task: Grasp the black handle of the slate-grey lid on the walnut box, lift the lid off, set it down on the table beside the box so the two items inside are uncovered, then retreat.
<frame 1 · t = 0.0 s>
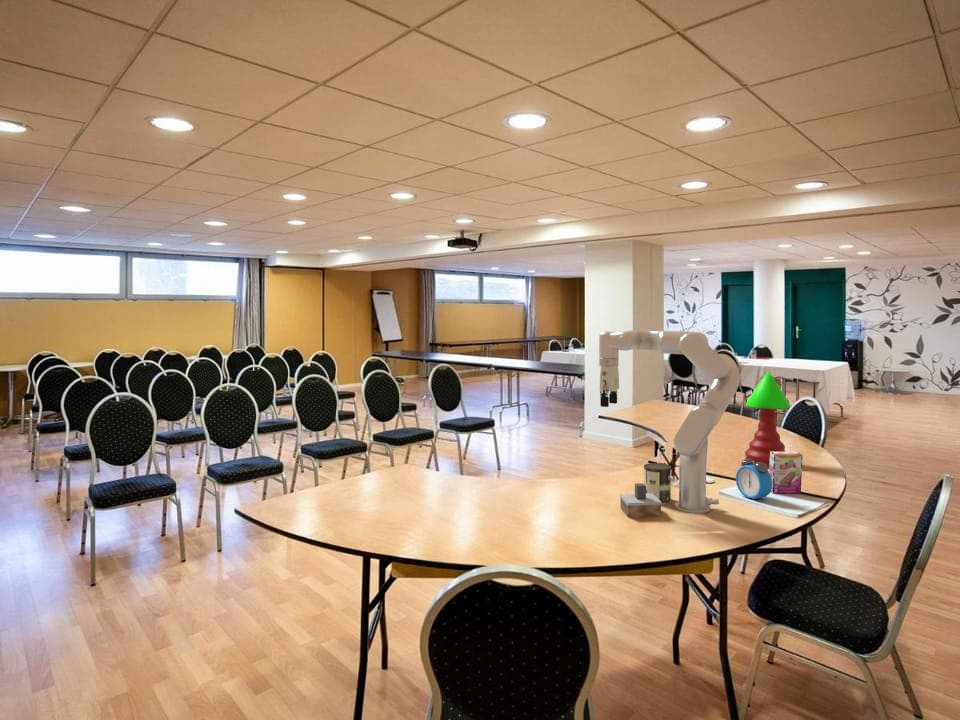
hand: (608, 404, 236), 37 cm above the table, tool pointing down, fingers open, 9 cm apart
lid: (640, 500, 217), point 5 cm above the table, touching box
box: (640, 513, 217), on the table
coffee can: (657, 501, 231), on the table
mustard ball: (633, 512, 217), point 1 cm above the table, touching box
alarm clock: (753, 498, 233), on the table
table lamp: (766, 463, 285), on the table
candy bar box: (784, 492, 240), on the table
white capsule: (646, 512, 217), point 1 cm above the table, touching box
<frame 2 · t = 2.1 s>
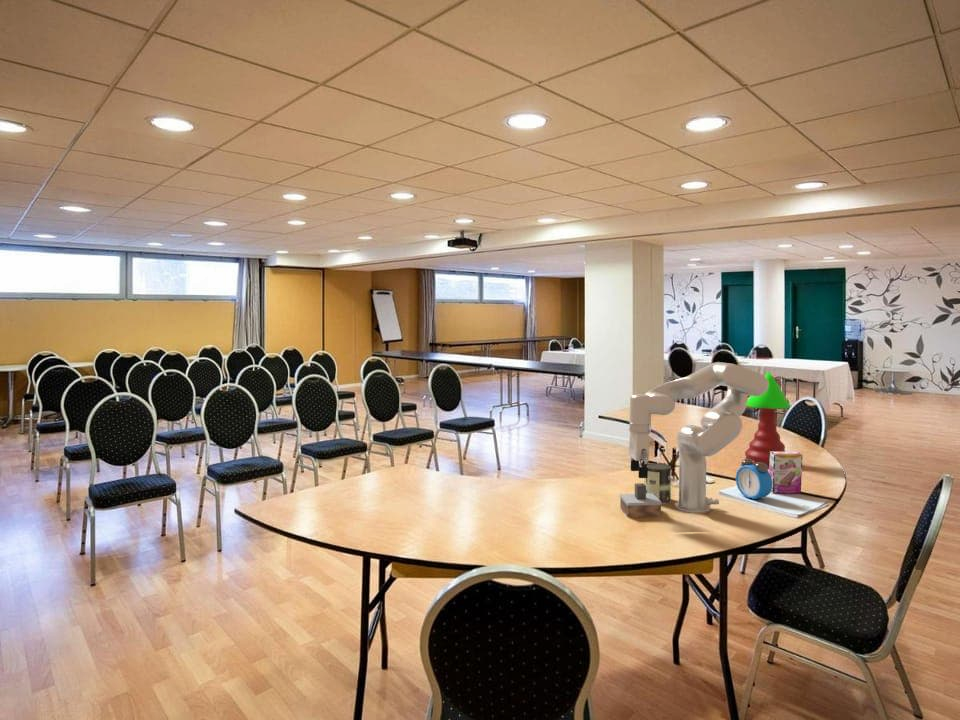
hand: (638, 474, 216), 15 cm above the table, tool pointing down, fingers open, 9 cm apart
nothing on the table moved.
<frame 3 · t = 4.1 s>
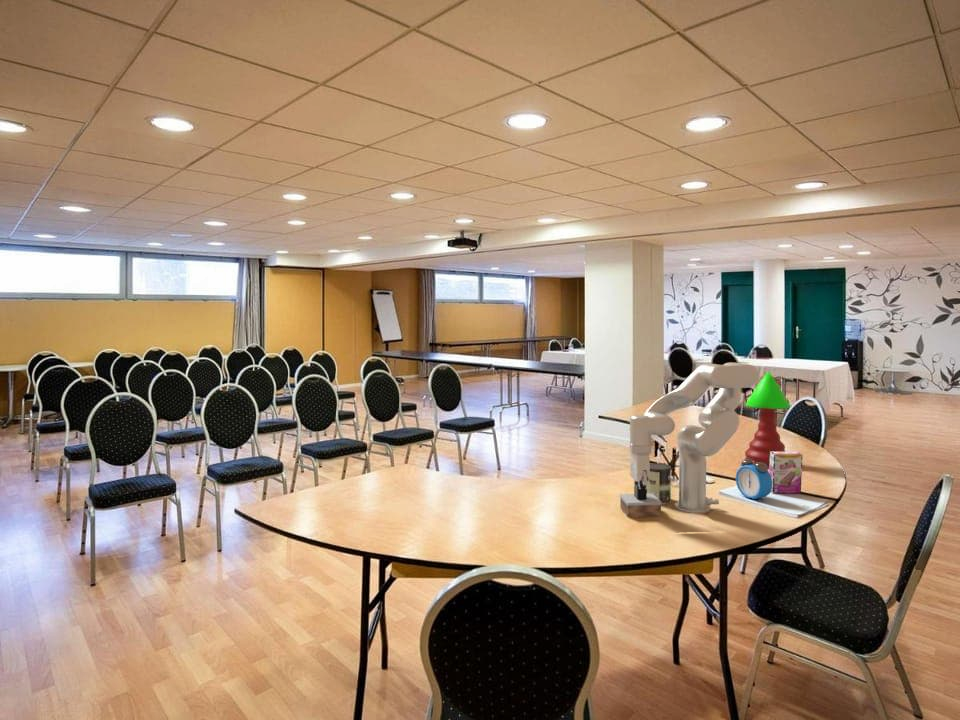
hand: (640, 497, 216), 6 cm above the table, tool pointing down, fingers closed on lid, 3 cm apart
lid: (640, 500, 217), point 5 cm above the table, touching box, gripper
everything else where it was.
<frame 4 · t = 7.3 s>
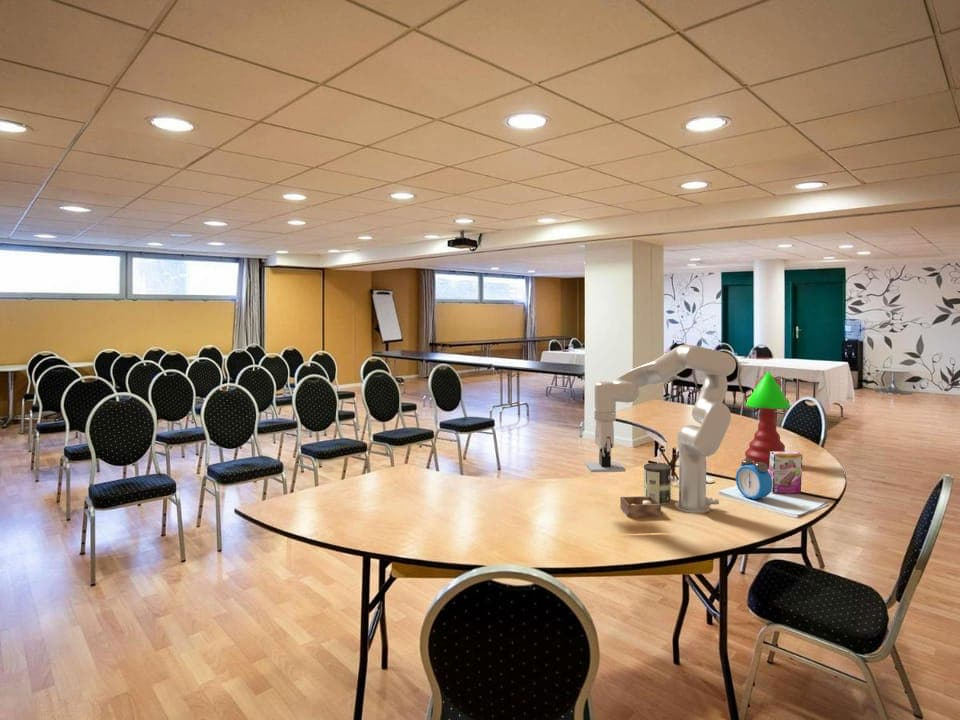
hand: (604, 465, 215), 19 cm above the table, tool pointing down, fingers closed on lid, 3 cm apart
lid: (604, 468, 215), point 18 cm above the table, touching gripper
everything else where it was.
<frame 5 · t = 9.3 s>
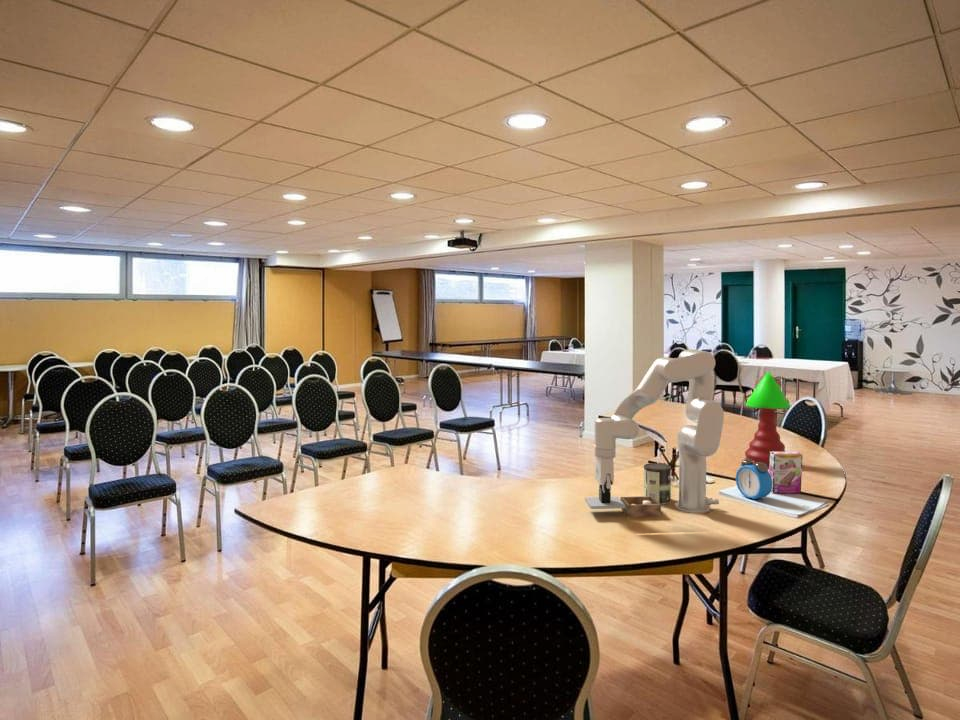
hand: (604, 500, 216), 5 cm above the table, tool pointing down, fingers closed on lid, 3 cm apart
lid: (604, 504, 216), point 4 cm above the table, touching gripper
everything else where it was.
when the fingers open (3 cm above the table, at t = 10.7 s): lid drops 2 cm, on the table.
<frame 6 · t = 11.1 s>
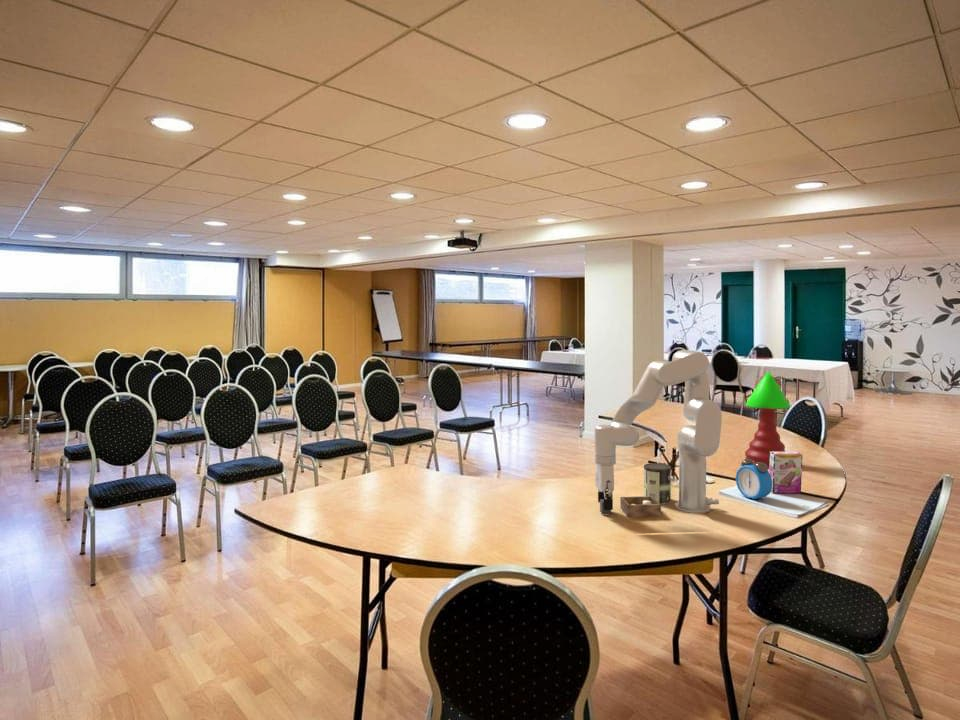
hand: (605, 505, 216), 3 cm above the table, tool pointing down, fingers open, 8 cm apart
lid: (605, 516, 217), on the table
everything else where it was.
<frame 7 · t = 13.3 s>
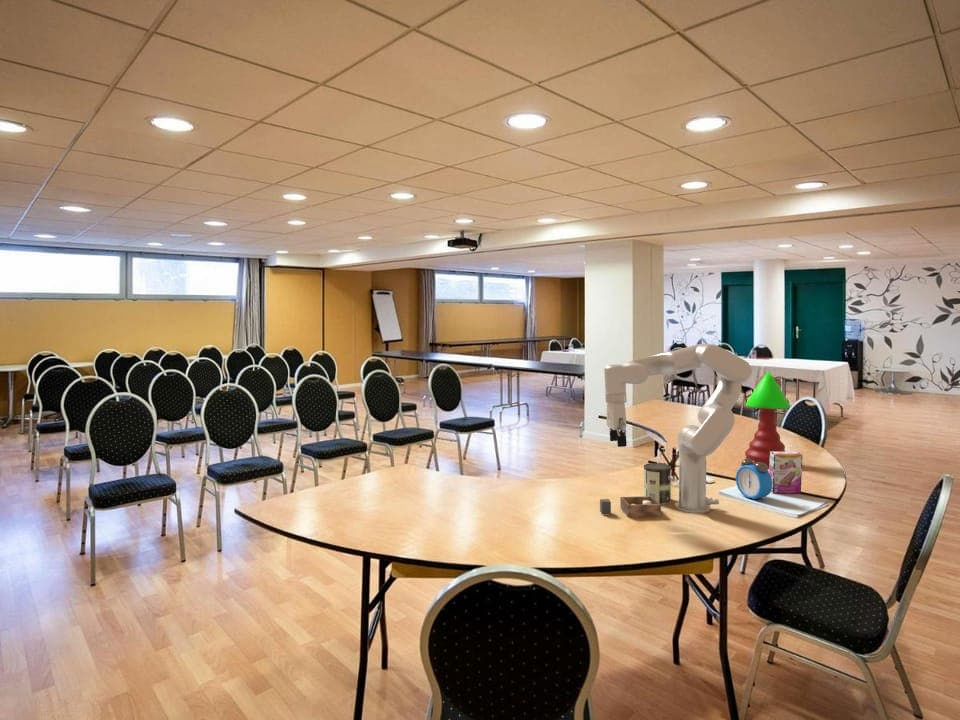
hand: (618, 443, 219), 26 cm above the table, tool pointing down, fingers open, 9 cm apart
nothing on the table moved.
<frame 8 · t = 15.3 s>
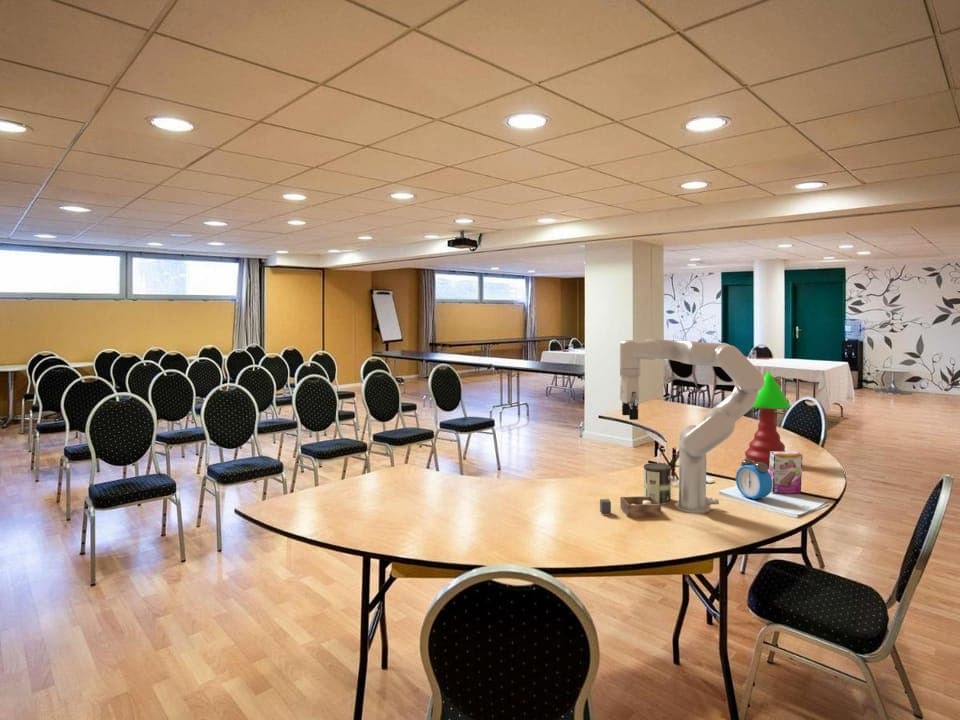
hand: (630, 417, 224), 34 cm above the table, tool pointing down, fingers open, 9 cm apart
nothing on the table moved.
at the end: lid inside the target area (0.5 cm from its centre), on the table; lid tilted 0°; the gripper is holding nothing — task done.
